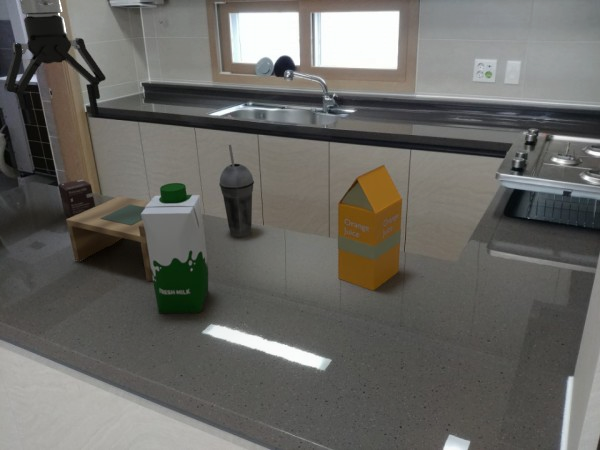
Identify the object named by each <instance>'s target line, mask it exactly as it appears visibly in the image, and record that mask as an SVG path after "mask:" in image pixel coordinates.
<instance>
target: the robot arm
mask: <svg viewBox="0 0 600 450" xmlns="http://www.w3.org/2000/svg"><path fill="white" fill-rule="evenodd" d="M19 4H20V9H21V13H22V15H25V17H24V18H23V23H24V27H25V32H26V36H27V43H20V42H12V43H11V47H12V57H11V60H10V63H9V68H8V72H7V75H6V78H5V82H4V86H3V89H4V90H5V91H7V92H9V93H14V94H15V97H16V101H17V105H18V107H19V109H20V110H24V111H25V116H26V120H27V124H29V125H30V126H36V121H35V118H34V113H33V108H32V104H31V99H30V96H29V93H28V92H26V89H27V87H28V85H29V84H30V82H31V80H32V79H33V78H34V75H35V74H36V72H37V70H38V69H39V67H40V66H41V65H42V63H43V64H45V65H46V64H47V65H48V64H52V63H63V62H66V63H67V64H69V66H70V67H71V68H73V70H75V71H76V72H77V73H78V74H79V75H80V76H81V77H83V78H84V79H85V80H86V81H87V82H88V84H85V85H86V91H87V96H88V102H89V108H90V113H91V115H94V116H100V113H99V106H98V101H97V100H101V99H100V98H101V94H100V89H99V85H100V83H101V82H105V81H106V80H107V79H106V75H105V74H104V73H103V72H102V69H101V68H100V67H99V65H98V64H97V62H96V61H95V59H94V58H93V57H92V55H91V53H90V52H89V50H88V49H87V47H86V44H85V40H84V39H83V38H81V37H75V38H74V39H71V40H70V39H69V37H68V34H67V27H66V24H65V18H64V17H63V15H61V14H62V13H63V8H62V3H61V0H19ZM72 47H73V49H74V50H77V52H78V53H79V55H80V56H81V58H82V59H83V60H84V62H85V64H86V65H87V66H88V68H89V70H90V71H91V72H92V73H90V71H88V70H87V69H86V68H85V67H84V66H83V65H82V64H80V63H79V62H78V61H77V60H76V59H75V58H74V57H73V56H72V55H71V54H70V53H69V51H70V50H71V48H72ZM27 51H29V52H30V53H31V54H32V57H31V59H30V60H29V64H28V65H27V67H26V68H25V70H24V72H23V73H22V75H21V76H20V78H19V80H18V81H17V78H18V74H19V71H20V68H21V63H22V60H23V55H25V54H26V52H27ZM92 74H93V75H92ZM16 81H17V83H16Z"/></svg>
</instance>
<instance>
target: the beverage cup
mask: <svg viewBox="0 0 600 450" xmlns="http://www.w3.org/2000/svg"><path fill="white" fill-rule="evenodd" d="M228 150H229V157H230V164H229V165H227V166H226V167H225V168H224V169H223V170H222V171H221V174H220V177H219V183H218V184H219V187H220V191H221V194H222V197H223V203H224V208H225V214H226V219H227V225H228V229H229V234H230V236H231V237H234V238H246V237H248V236H250V235H251V233H252V225H253V224H252V221H253V217H252V215H253V191H254V183H255V181H254V177H253V175H252V172H251V171H250V169H249V168H248V167H247V166H245V165H243V164H241V163H235V159H234V154H233V148H232V144H229V145H228Z"/></svg>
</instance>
